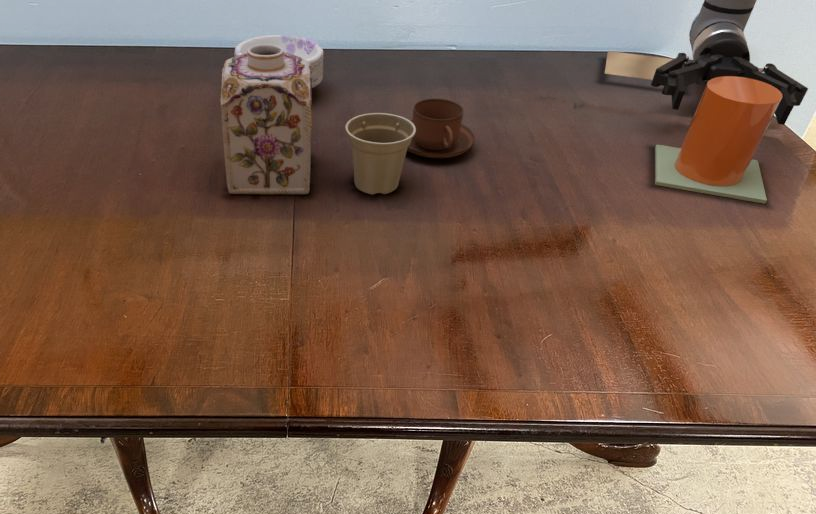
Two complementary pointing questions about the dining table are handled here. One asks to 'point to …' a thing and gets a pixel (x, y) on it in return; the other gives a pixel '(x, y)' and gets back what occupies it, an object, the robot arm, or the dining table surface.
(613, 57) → the board
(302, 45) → the white floral bowl
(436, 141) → the cup and saucer
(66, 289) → the dining table surface
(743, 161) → the canister
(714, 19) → the robot arm
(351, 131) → the flower pot
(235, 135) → the decorative jar
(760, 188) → the mat
